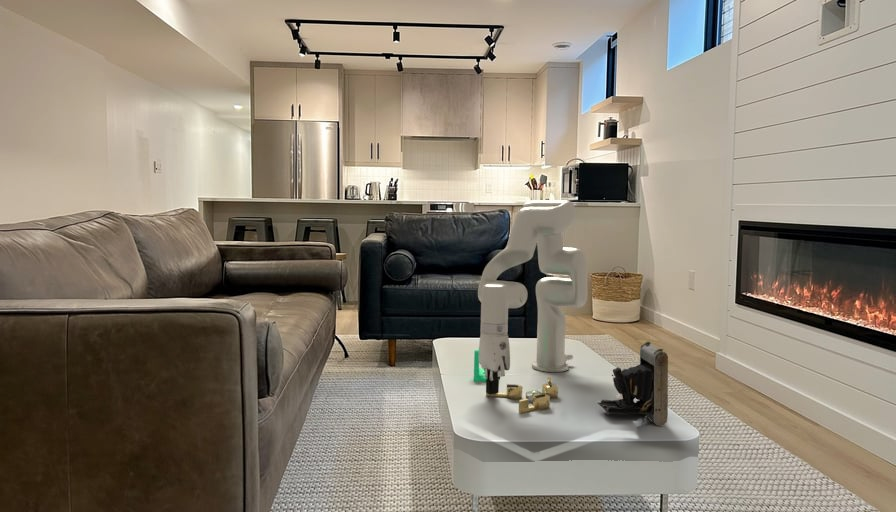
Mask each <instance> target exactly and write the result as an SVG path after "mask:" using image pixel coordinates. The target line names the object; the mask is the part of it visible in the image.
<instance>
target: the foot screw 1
mask: <svg viewBox="0 0 896 512" xmlns="http://www.w3.org/2000/svg"><path fill="white" fill-rule="evenodd" d="M485 396H486V397H503V398H505V397H506V398H507V399H510V400H522V398H523V386H522V385H519V384H512V383H511V384H510V383H509V384H508V383H507V384H506V392H505V393H504V392H498V393H497V394H490V395H489V394H488V393H486V392H485Z"/></svg>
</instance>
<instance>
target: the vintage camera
mask: <svg viewBox="0 0 896 512" xmlns="http://www.w3.org/2000/svg"><path fill="white" fill-rule="evenodd" d="M668 372H669V356H668V354H667V352H665V351H664V349H663V348H658V347H656V346H655V345H653V344H651V342H650V341H646V342H645V343H643V344H642V345H641V346H640V349H639V364H638V365H635V366H631V367H628V368H624V369H621V367H619V366H618V367H616V368H614V369H612V373H613V374H611V376H612V377H613V378H612V381H613V386H614V387H615V389H616V391H617V392H618V394H622V396H623V399H614V400H613V399H611V400H609V399H601V400H600V402H597V404H598V405H599V406H600V407H601V408H602V409H603V410H604V411H605V412H606V416H607V417H609V415H611V414H613V415H614V414H615V415H616V414H617V415H645V417H646V419H648V420H650V421H651V422H652V423H653V424H655V425H656V426H659V427H663V426H665V425H666V424H667V423H668V420H669V419H668V416H669V415H668V414H669V413H668V410H669V407H668V406H669V404H668V403H669V400H668V399H669V397H668V395H669V390H668V389H669V373H668ZM633 400H634V401H633Z"/></svg>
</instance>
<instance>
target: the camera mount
mask: <svg viewBox="0 0 896 512" xmlns="http://www.w3.org/2000/svg"><path fill="white" fill-rule="evenodd" d="M473 353H474V357H473V358H474V359H473V360H474V363H473V382H476V383H477V382H480V383H481V382H483V383H486V378H485V371H484V369H483V368H482V367H480V363H479V348H474V352H473Z"/></svg>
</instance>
